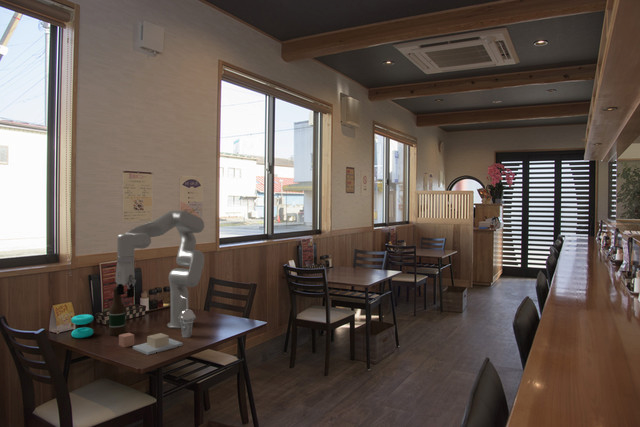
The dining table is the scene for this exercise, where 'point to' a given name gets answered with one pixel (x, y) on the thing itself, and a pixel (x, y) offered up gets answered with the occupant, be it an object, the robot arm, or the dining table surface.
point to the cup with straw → (186, 320)
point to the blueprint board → (153, 350)
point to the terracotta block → (126, 339)
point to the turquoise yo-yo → (85, 330)
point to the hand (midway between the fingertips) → (125, 295)
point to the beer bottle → (117, 316)
